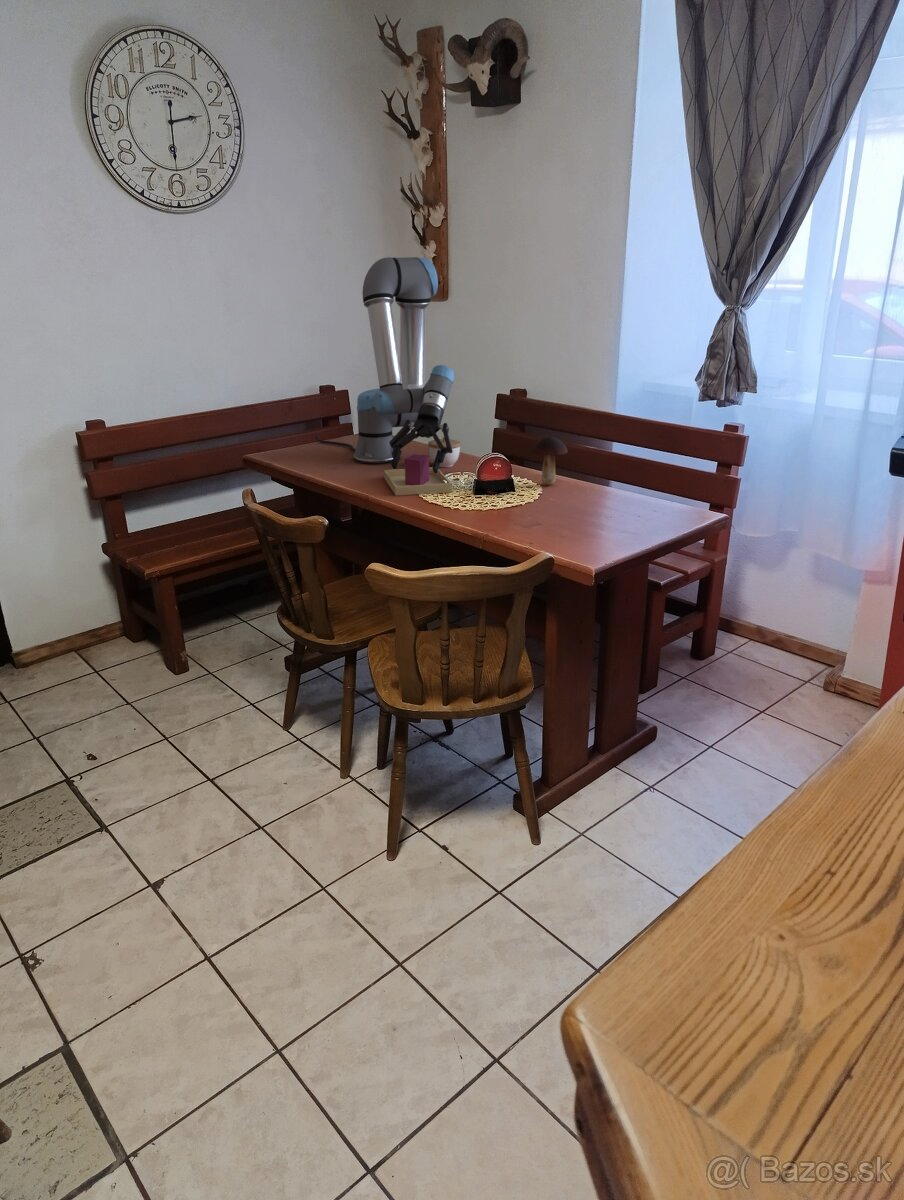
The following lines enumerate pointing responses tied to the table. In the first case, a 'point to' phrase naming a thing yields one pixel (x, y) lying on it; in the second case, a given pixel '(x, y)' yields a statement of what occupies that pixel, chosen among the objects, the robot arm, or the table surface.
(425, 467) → the mulberry block
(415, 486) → the tray
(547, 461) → the decorative mushroom
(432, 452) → the trinket box
